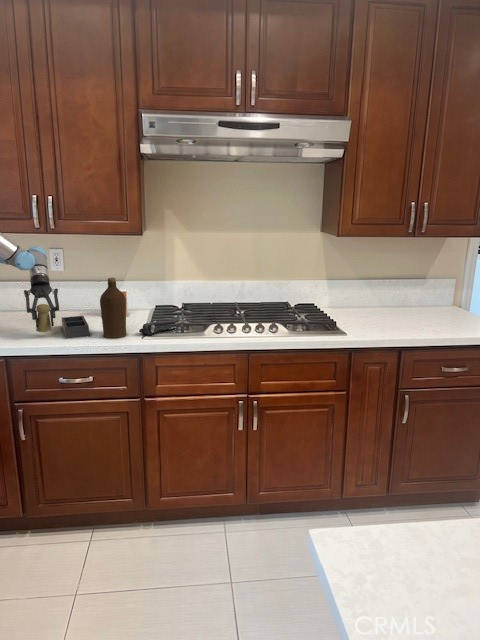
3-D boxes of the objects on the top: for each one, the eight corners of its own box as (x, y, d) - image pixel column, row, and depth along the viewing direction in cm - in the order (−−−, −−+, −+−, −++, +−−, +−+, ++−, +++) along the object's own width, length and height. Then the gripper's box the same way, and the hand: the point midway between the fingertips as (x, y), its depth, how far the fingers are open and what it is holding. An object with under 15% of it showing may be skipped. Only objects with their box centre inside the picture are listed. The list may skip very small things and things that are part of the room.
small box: (110, 317, 228) (109, 291, 224) (111, 314, 234) (109, 288, 230) (127, 316, 230) (126, 291, 226) (127, 313, 236) (126, 288, 232)
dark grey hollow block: (65, 338, 194) (64, 327, 193) (62, 327, 210) (61, 317, 209) (89, 336, 198) (88, 325, 197) (84, 325, 214) (83, 315, 212)
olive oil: (130, 337, 197) (127, 279, 191) (105, 340, 193) (101, 281, 186) (124, 331, 206) (121, 275, 200) (99, 333, 202) (96, 277, 195)
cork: (55, 329, 196) (54, 304, 193) (42, 332, 191) (41, 306, 188) (45, 327, 199) (44, 302, 196) (33, 330, 194) (31, 304, 191)
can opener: (145, 337, 197) (145, 325, 195) (137, 334, 202) (137, 321, 200) (180, 330, 208) (180, 318, 207) (172, 326, 213) (171, 315, 212)
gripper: (15, 274, 194) (19, 322, 184) (62, 272, 201) (68, 318, 191) (17, 285, 200) (21, 331, 190) (62, 282, 207) (68, 327, 197)
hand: (44, 325), depth 191 cm, fingers closed on cork, 5 cm apart
